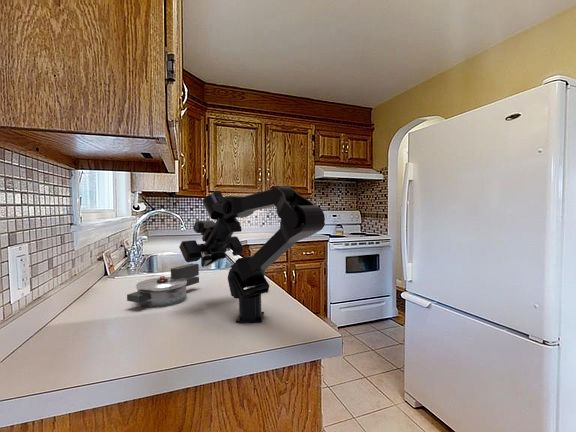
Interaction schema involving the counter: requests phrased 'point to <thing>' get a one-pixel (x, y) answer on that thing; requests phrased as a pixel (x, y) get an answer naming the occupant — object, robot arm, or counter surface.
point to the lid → (170, 279)
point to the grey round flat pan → (161, 296)
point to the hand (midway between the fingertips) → (203, 265)
